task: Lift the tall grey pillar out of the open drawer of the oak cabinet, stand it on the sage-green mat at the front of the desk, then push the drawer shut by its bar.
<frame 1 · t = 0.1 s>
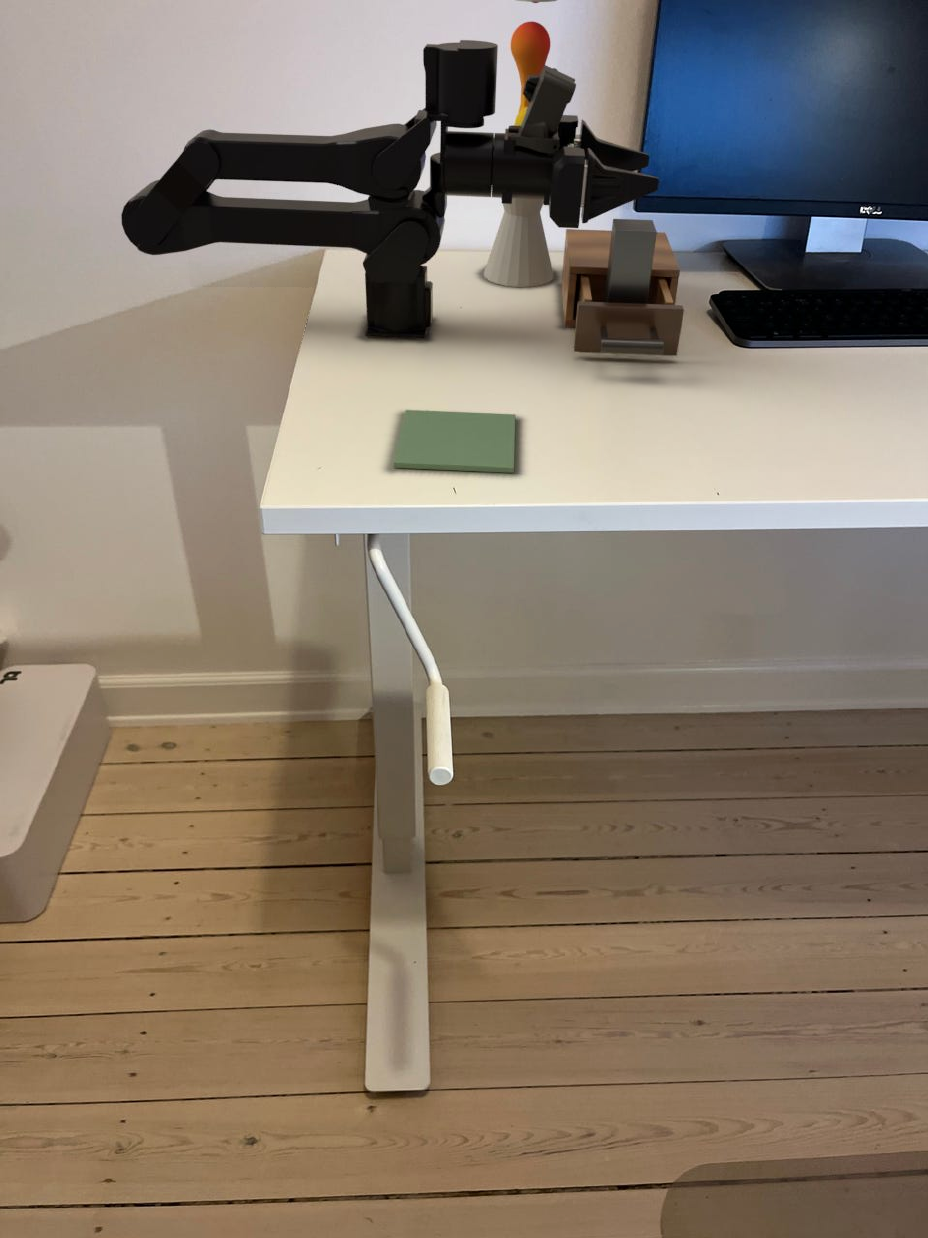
hand: (653, 171, 93), 17 cm above the table, tool horizontal, fingers open, 9 cm apart
mat: (457, 442, 83), on the table
drawer: (625, 316, 99), point 3 cm above the table, slide at 8.0 cm, touching tall grey pillar
tall grey pillar: (622, 323, 101), point 2 cm above the table, touching drawer
lava lamp: (518, 276, 119), on the table
cabinet: (613, 306, 111), on the table
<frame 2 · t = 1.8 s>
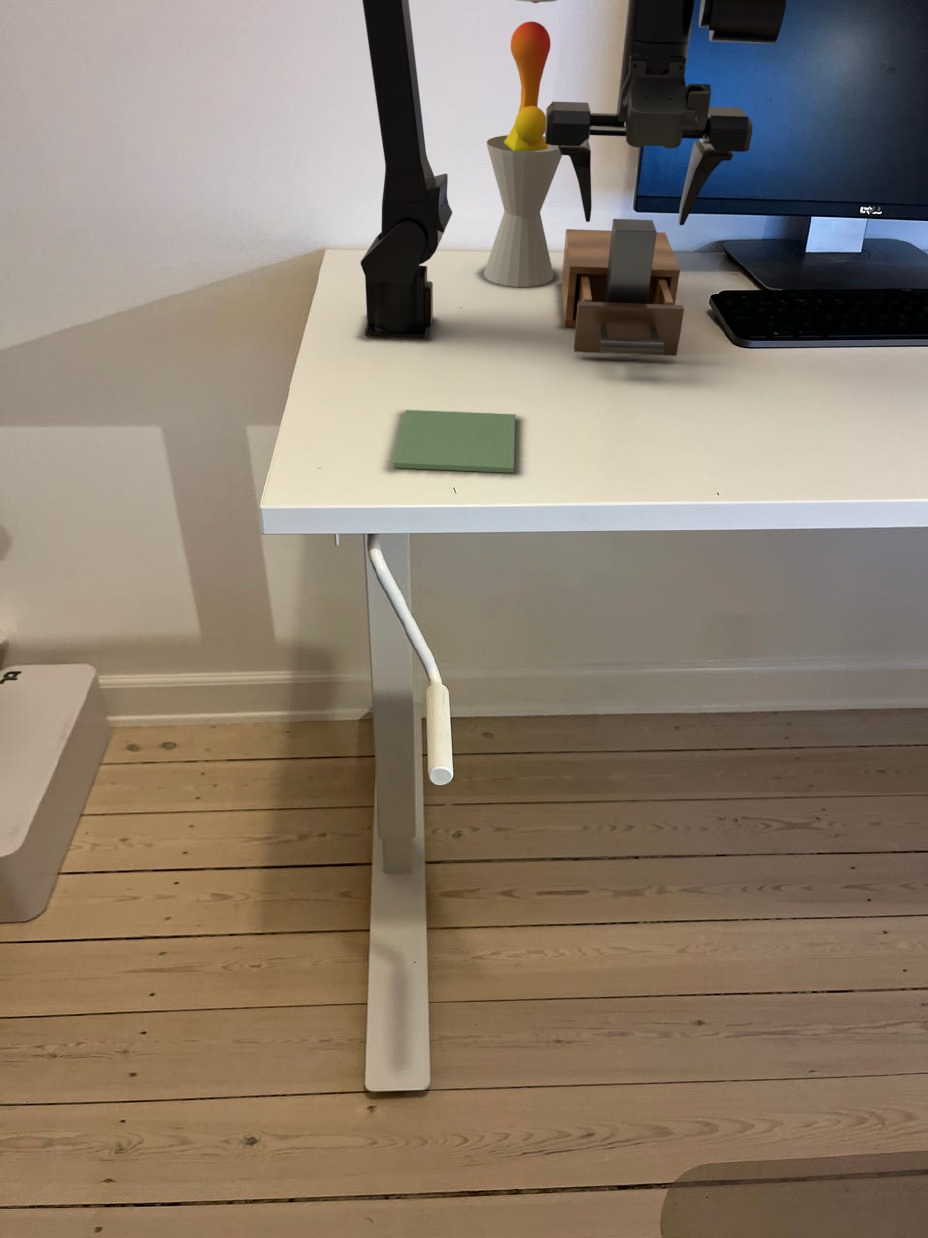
hand: (634, 222, 95), 12 cm above the table, tool pointing down, fingers open, 9 cm apart
nothing on the table moved.
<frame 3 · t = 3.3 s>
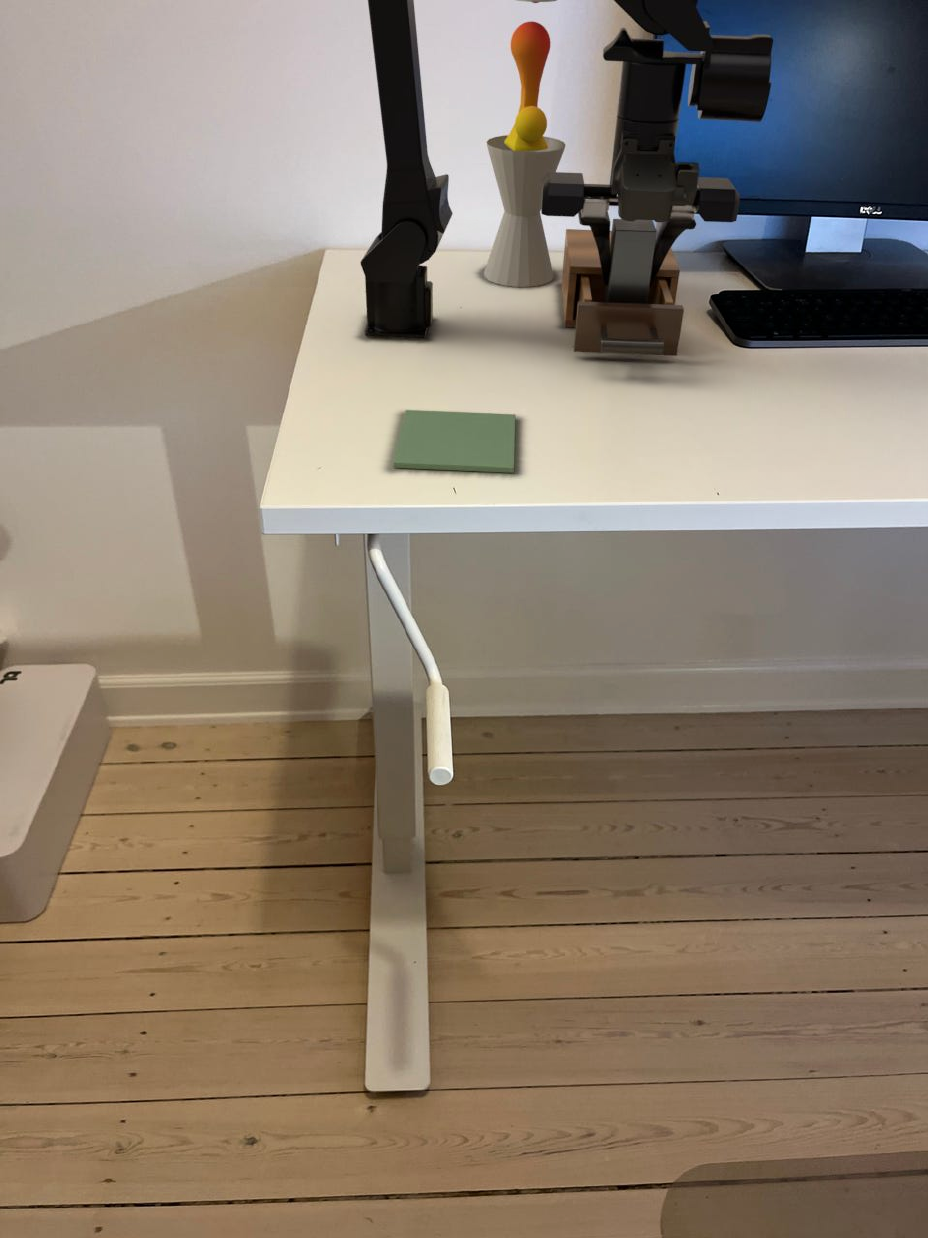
hand: (626, 285, 99), 6 cm above the table, tool pointing down, fingers closed on tall grey pillar, 4 cm apart
tall grey pillar: (622, 323, 101), point 2 cm above the table, touching drawer, gripper
everything else where it was.
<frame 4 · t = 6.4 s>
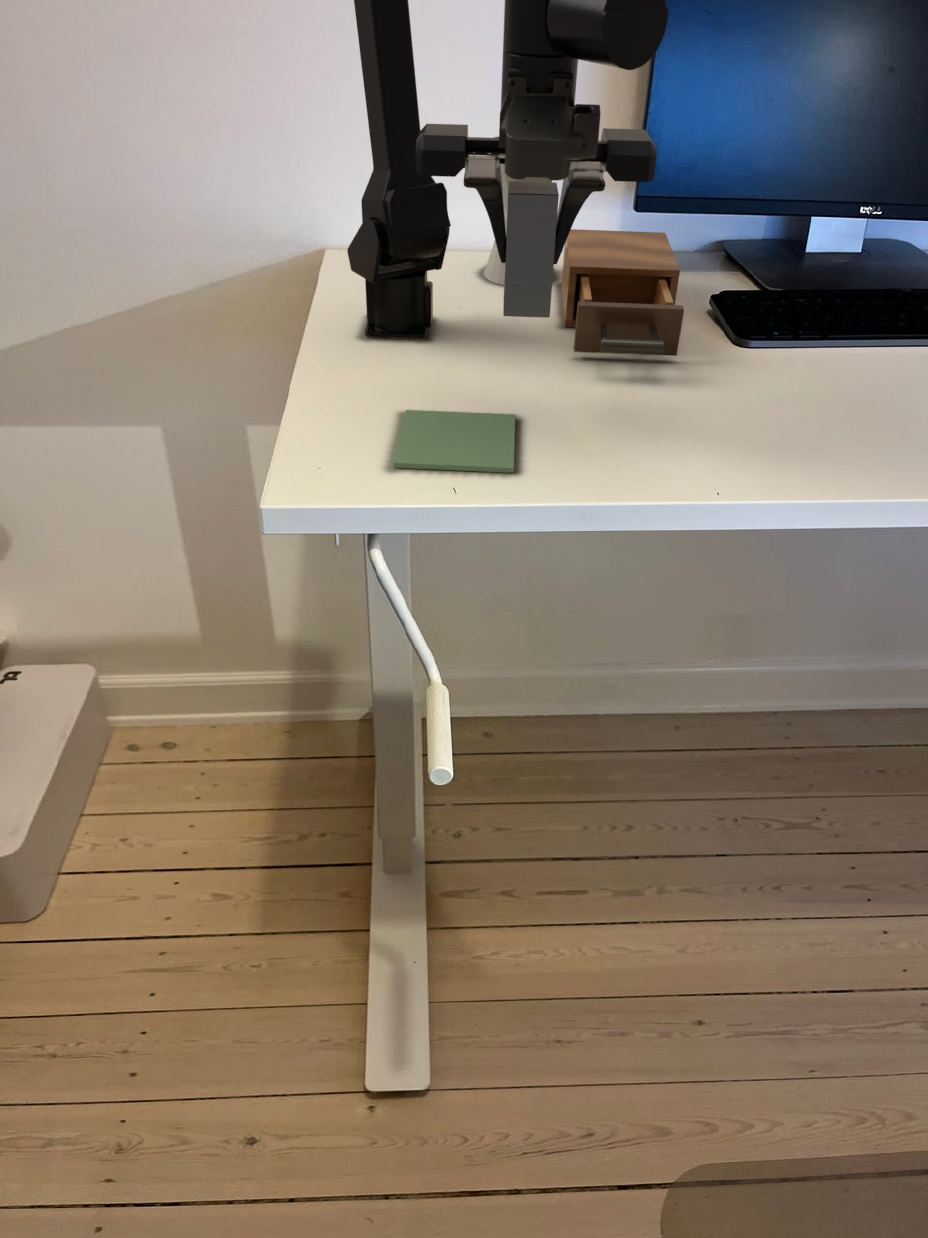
hand: (528, 262, 82), 13 cm above the table, tool pointing down, fingers closed on tall grey pillar, 4 cm apart
drawer: (625, 316, 99), point 3 cm above the table, slide at 8.0 cm
tall grey pillar: (526, 308, 84), point 9 cm above the table, touching gripper
everything else where it was.
when the fingers open (5 cm above the table, at t = 9.6 s): tall grey pillar stays where it is, resting on mat.
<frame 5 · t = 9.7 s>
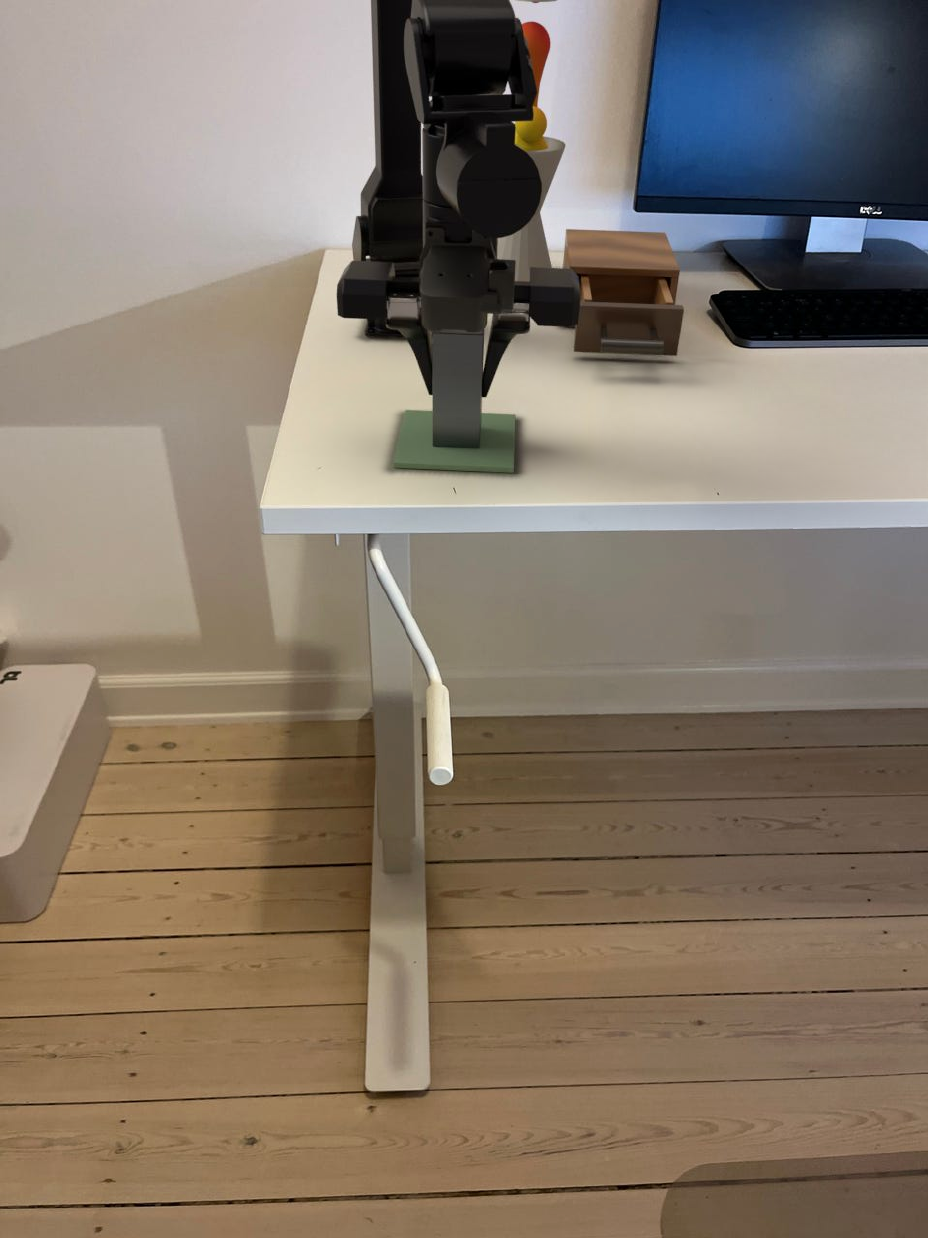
hand: (458, 394, 81), 4 cm above the table, tool pointing down, fingers open, 4 cm apart
tall grey pillar: (457, 436, 83), resting on mat
everything else where it was.
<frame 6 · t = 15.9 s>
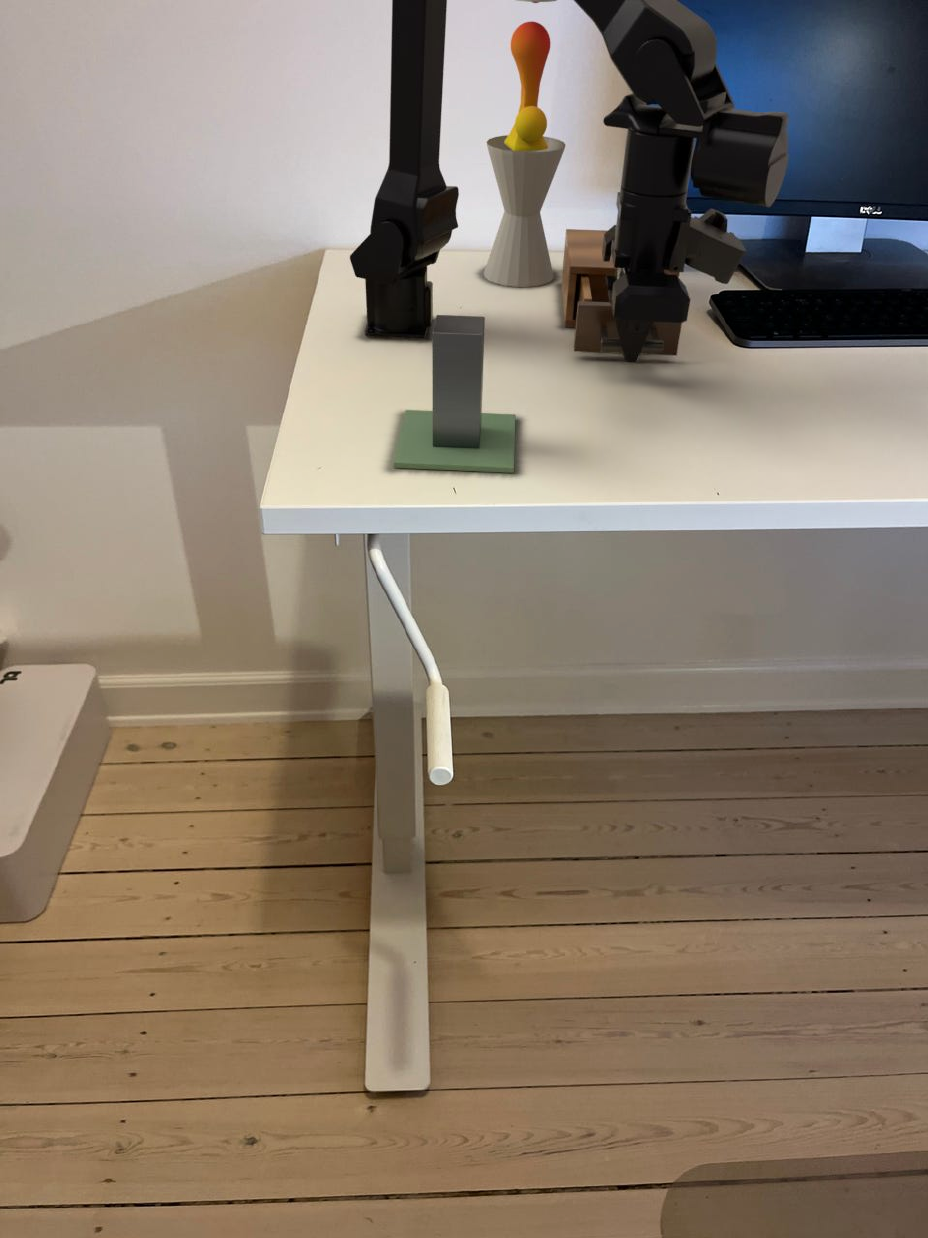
hand: (630, 360, 92), 2 cm above the table, tool pointing down, fingers closed
drawer: (625, 316, 99), point 3 cm above the table, slide at 7.9 cm, touching gripper
everything else where it was.
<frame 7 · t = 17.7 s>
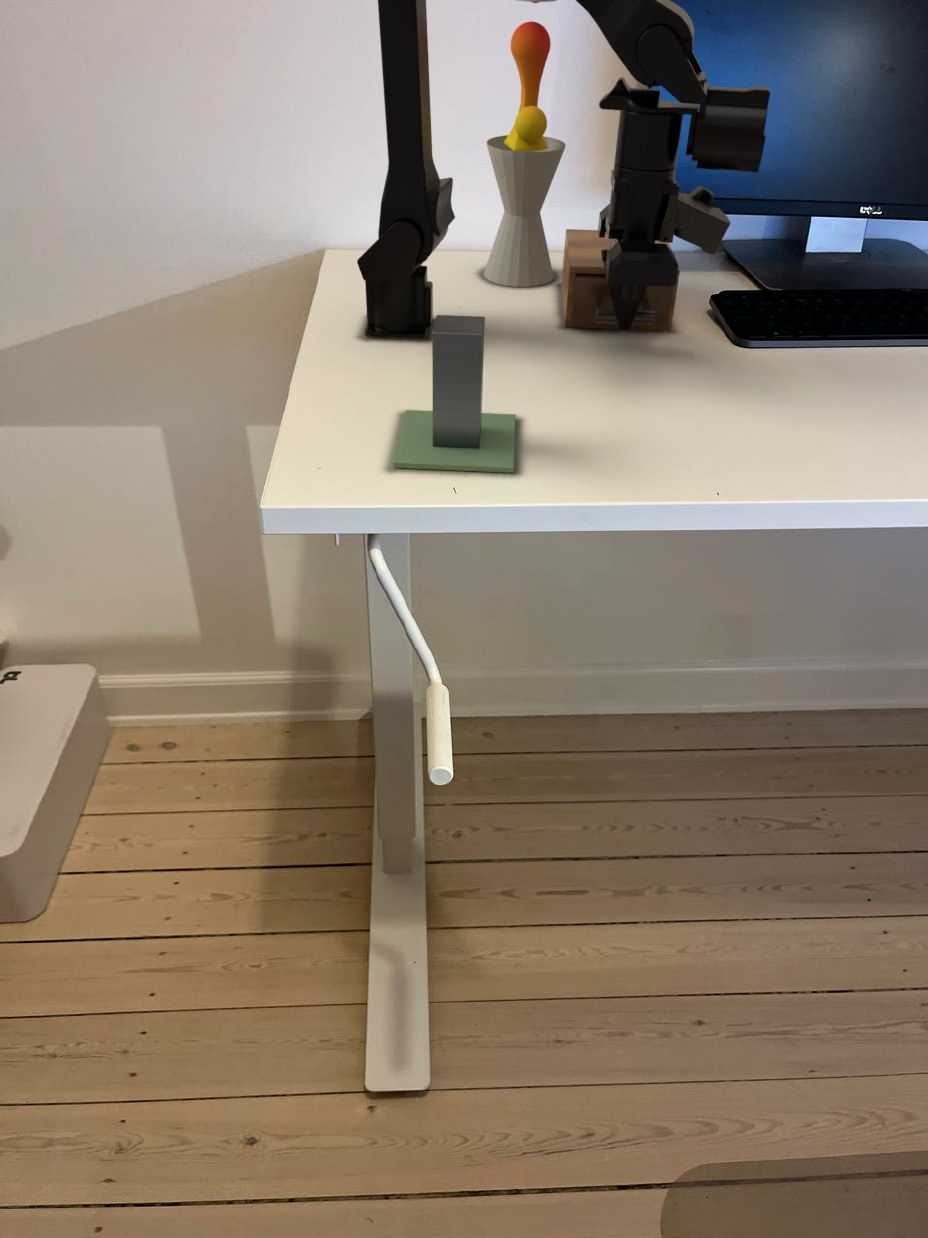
hand: (624, 329, 99), 2 cm above the table, tool pointing down, fingers closed
drawer: (619, 290, 105), point 3 cm above the table, slide at 0.0 cm, touching cabinet, gripper
everything else where it was.
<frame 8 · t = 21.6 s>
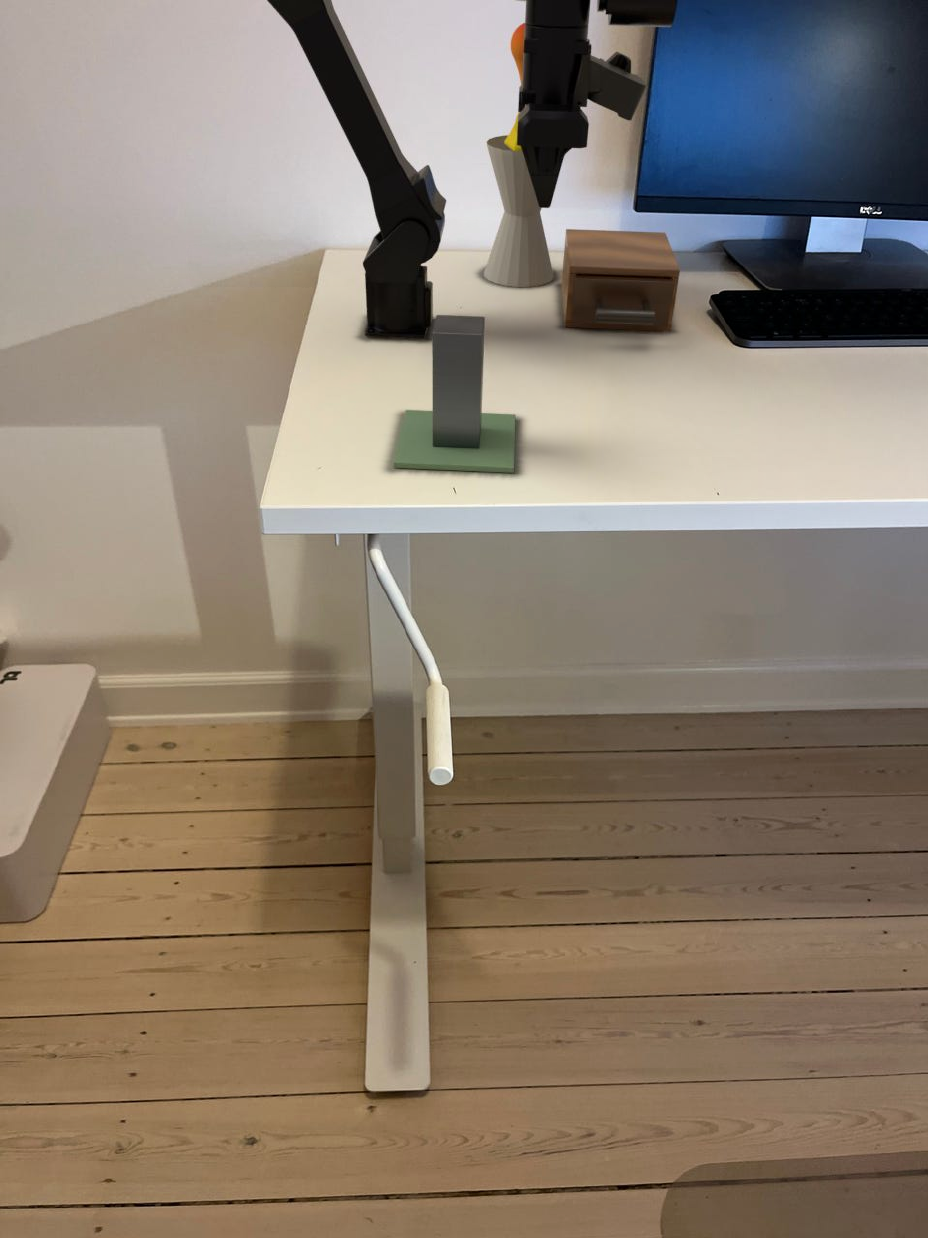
hand: (544, 206, 96), 13 cm above the table, tool pointing down, fingers closed
drawer: (619, 290, 105), point 3 cm above the table, slide at 0.0 cm, touching cabinet
everything else where it was.
at the end: tall grey pillar inside the target area on the mat (0.0 cm from its centre), point 0.5 cm above the mat's base; tall grey pillar tilted 0°; drawer slide at 0.0 cm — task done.
